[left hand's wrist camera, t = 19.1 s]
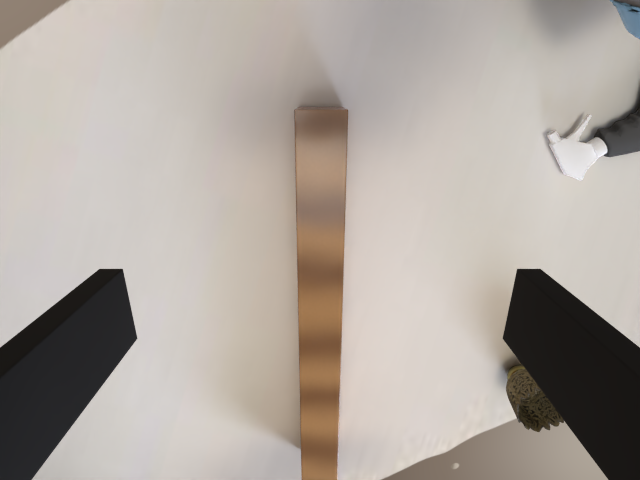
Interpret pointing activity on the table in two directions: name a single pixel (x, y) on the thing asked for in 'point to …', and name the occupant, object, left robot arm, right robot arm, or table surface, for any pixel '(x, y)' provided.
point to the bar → (320, 281)
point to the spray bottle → (595, 144)
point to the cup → (530, 401)
